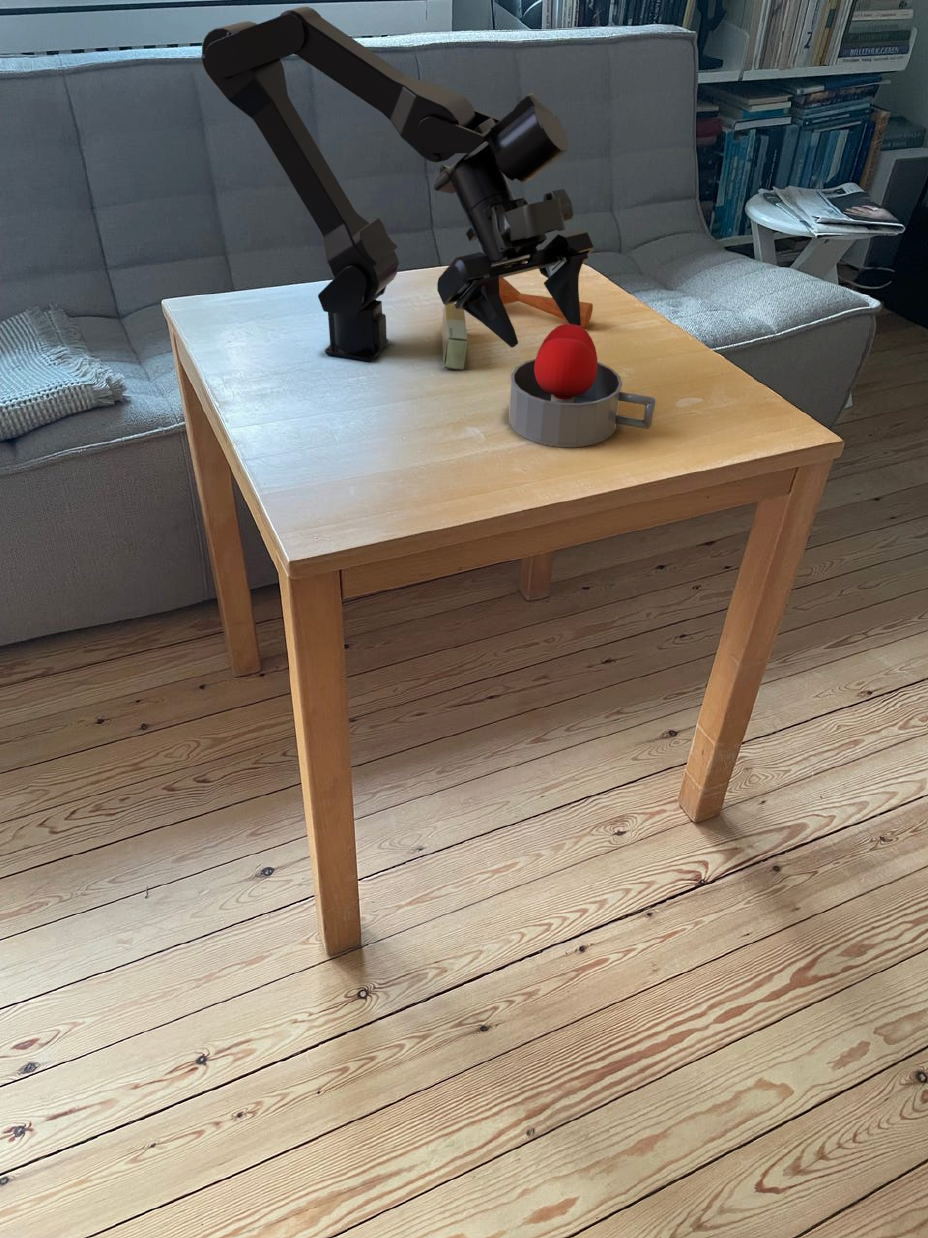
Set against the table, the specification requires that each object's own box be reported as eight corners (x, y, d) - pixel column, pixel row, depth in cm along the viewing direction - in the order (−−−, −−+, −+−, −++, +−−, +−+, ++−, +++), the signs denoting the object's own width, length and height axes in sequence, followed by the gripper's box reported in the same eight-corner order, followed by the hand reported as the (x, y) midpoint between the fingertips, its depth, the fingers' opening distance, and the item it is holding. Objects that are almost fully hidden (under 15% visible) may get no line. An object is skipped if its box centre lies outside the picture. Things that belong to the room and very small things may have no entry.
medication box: (464, 370, 117) (468, 340, 115) (443, 368, 117) (447, 338, 114) (459, 330, 126) (463, 301, 124) (440, 328, 126) (443, 299, 123)
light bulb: (587, 438, 103) (597, 353, 97) (525, 431, 104) (531, 346, 98) (594, 401, 110) (604, 319, 104) (536, 395, 111) (542, 313, 105)
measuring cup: (495, 436, 104) (497, 393, 101) (524, 389, 113) (527, 349, 110) (640, 461, 100) (647, 418, 97) (658, 411, 110) (665, 370, 106)
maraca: (583, 307, 123) (448, 271, 129) (578, 345, 128) (448, 309, 133) (598, 284, 127) (466, 250, 132) (593, 323, 132) (465, 288, 137)
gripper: (454, 176, 92) (517, 321, 92) (592, 151, 101) (650, 284, 101) (410, 236, 102) (468, 367, 102) (540, 209, 111) (593, 330, 111)
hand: (547, 336), depth 104 cm, fingers open, 9 cm apart
